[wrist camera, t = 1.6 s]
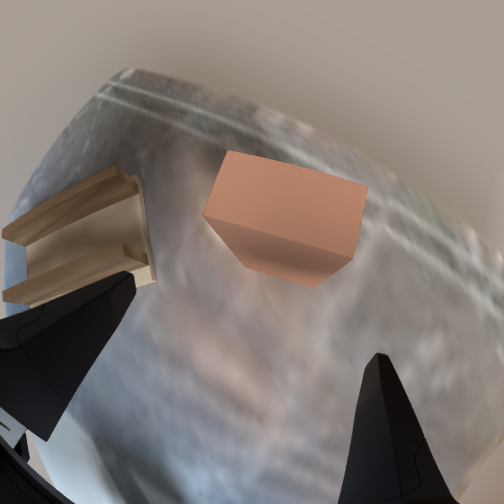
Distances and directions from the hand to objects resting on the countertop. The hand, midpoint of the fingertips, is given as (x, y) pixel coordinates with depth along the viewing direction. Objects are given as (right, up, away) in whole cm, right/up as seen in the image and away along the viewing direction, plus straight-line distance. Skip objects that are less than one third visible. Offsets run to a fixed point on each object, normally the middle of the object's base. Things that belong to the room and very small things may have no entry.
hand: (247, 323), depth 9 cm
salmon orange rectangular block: (+3, +2, +12) cm, 13 cm away
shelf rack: (-17, +2, +14) cm, 22 cm away
